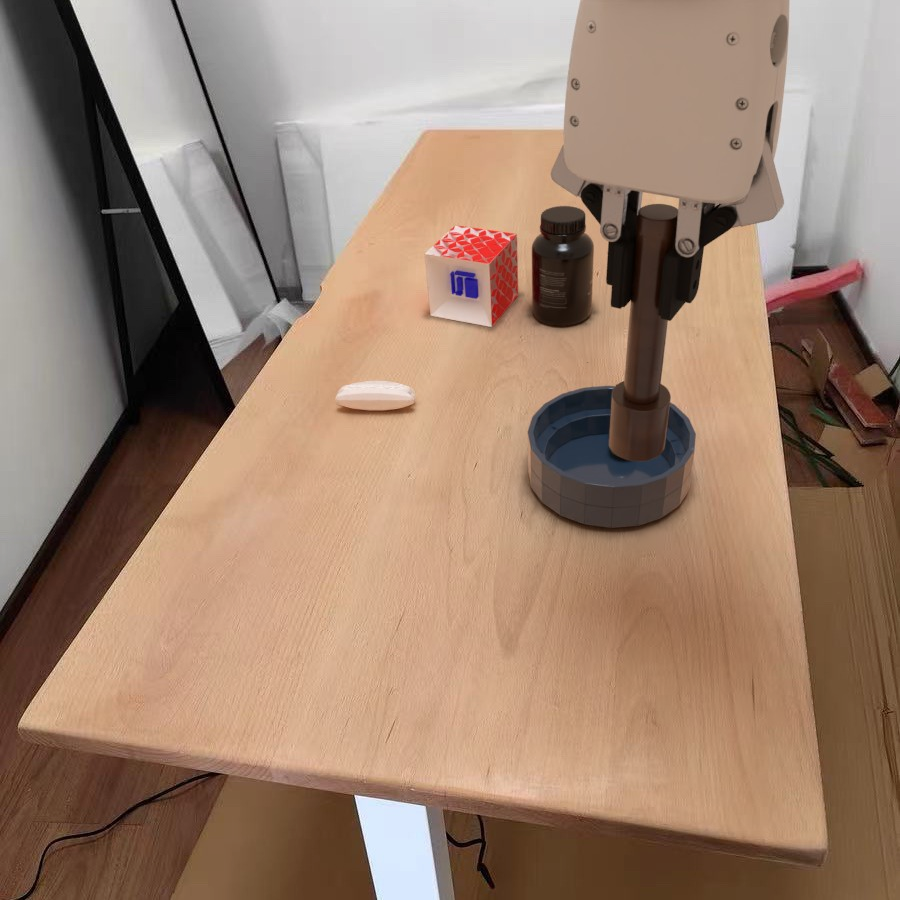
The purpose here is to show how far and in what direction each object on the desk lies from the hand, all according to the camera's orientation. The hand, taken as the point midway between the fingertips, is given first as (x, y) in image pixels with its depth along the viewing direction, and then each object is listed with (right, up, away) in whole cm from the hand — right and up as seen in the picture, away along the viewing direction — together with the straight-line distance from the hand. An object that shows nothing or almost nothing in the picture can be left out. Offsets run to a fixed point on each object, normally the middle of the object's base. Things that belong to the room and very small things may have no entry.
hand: (650, 301), depth 50 cm
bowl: (+3, -11, +27) cm, 29 cm away
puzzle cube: (-9, +8, +53) cm, 54 cm away
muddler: (+1, -8, +7) cm, 11 cm away
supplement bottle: (+1, +7, +50) cm, 51 cm away
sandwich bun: (-19, -4, +38) cm, 43 cm away
